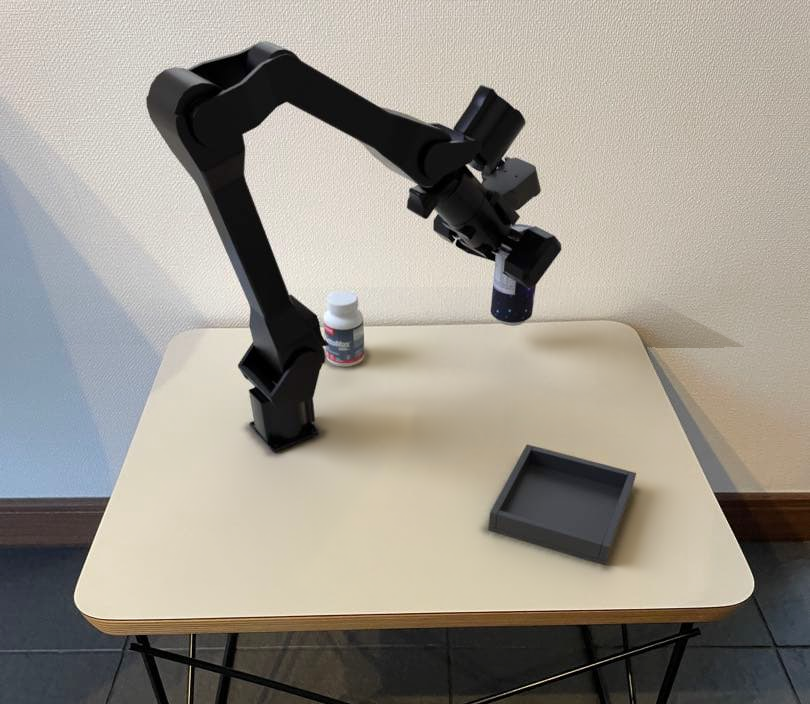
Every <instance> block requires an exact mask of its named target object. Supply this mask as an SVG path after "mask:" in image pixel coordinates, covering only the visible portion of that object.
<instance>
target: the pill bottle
mask: <svg viewBox="0 0 810 704" xmlns="http://www.w3.org/2000/svg"><path fill="white" fill-rule="evenodd" d="M358 297H359V296H358V295H357V294H356V293H355V292H353V291H350V290H336V291H333V292H331V293H330V294H329V295H328V296H327V299H326V304H327V305H326V306H327V310H326V311H325V313H324V314H323V330H324V340H325V341H326V342H327V343H328V346H325V355H326V359H327V361H328V362H329V363H330V364H332V365H334V366H338V367H352V366H355V365H358V364H360V363H361V362H362V361H363V360H364V358H365V328H364V324H365V323H364V315H363V312H362V311H361V310H360V309H359V299H358Z"/></svg>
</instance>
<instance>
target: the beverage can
mask: <svg viewBox="0 0 810 704" xmlns="http://www.w3.org/2000/svg"><path fill="white" fill-rule="evenodd" d="M510 227H511V228H513V229H515V230H517V231H519V232H521V231H522V230H524V229H527V228H531V227H533V226H532V225H529V224H523V223H515V225H512V224H511V225H510ZM508 237H509V236H508ZM513 240H514V239H513ZM515 241H516V240H515ZM518 241H519V240H518ZM500 247H502V246H500ZM509 252H510V251H509V250H508V249H506V248H504V247H502V250H501V252H500V253H499V254H498V255H496V259H495V262H494V271H493V281H492V291H491V303H490V314H491V315H492V316H493V318H494V319H495V320H496V322H497V323H500V324H501V325H504V326H509V327H511V326H513V327H514V326H520V325H522V324H524V323H525V322H526V321H528V320H529V319H530V318H531V317H532V316H533V310H534V305H535V304H534V303H535V296H536V288H537V285H536V286H535V287H532V288H527V287H525V286H523V285H522V284H520V283H518V282H516V281H515V280H513V279H511V278H509V277H508V276H506V275H504V274H503V271H504V262H505V259H506V258H507V256H508V255H509V254H508V253H509Z"/></svg>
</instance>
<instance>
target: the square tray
mask: <svg viewBox="0 0 810 704" xmlns="http://www.w3.org/2000/svg"><path fill="white" fill-rule="evenodd" d="M636 477H637V472H634V471H631V470H627V469H623V468H619V467H616V466H611V465H607V464H604V463H600V462H597V461H593V460H588V459H584V458H581V457H577V456H574V455H569V454H566V453H562V452H558V451H554V450H550V449H547V448H542V447H539V446H536V445H531V444H526V445H525V446H524V449H523V451H522V452H521V454H520V456H519V458H518V460H517V462H516V463H515V465H514V467H513V469H512V471H511V473H510V475H509V476H508V479H507V480H506V482H505V484H504V486H503V488H502V490H501V491H500V493H499V494H498V497H497V499H496V500H495V502H494V504H493V507H492V508H491V509H490V511H489V519H488V528H487V530H488V531H490V532H493V533H495V534H496V533H497V534H500V535H504V536H506V537H510V538H514V539H517V540H519V541H522V542H523V541H524V542H526V543H529V544H534V545H536V546H540V547H543V548H546V549H549V550H550V549H551V550H553V551H557V552H559V553H563V554H566V555H569V556H573V557H577V558H579V559H583V560H586V561H589V562H593V563H597V564H600V565H603V566H605V565H607V561H608V558H609V555H610V552H611V550H612V547H613V545H614V542H615V538H616V536H617V533H618V530H619V527H620V526H621V525H620V524H621V522H622V519H623V516H624V514H625V511H626V507H627V505H628V502H629V499H630V496H631V493H632V491H633V487H634V483H635V480H636Z"/></svg>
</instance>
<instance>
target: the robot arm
mask: <svg viewBox="0 0 810 704" xmlns="http://www.w3.org/2000/svg"><path fill="white" fill-rule="evenodd" d="M145 99H146V100H145V101H146V108H147V112H148V115H149V118H150V120H151V122H152V124H153V125H154V127H155V128H156V129H157V131H158V133H159V134H160V136H161V137H162V139H163V141H164V142H165V143H166V145H167V147H168V148H169V150H170V151H171V153H172V154H173V155H174V157H175V158H176V159H177V161H178V162H179V163H180V165H182V167H183V169H184V170H185V171H186V172H187V174H188V175H189V176H190V177H191V179H192V180H193V181H194V183H195V184H196V186H197V188H198V190H199V192H200V195H201V197H202V200H203V201H204V204H205V206H206V208H207V211H208V214H209V215H210V218H211V220H212V221H213V222H212V223H213V224H214V227H215V229H216V231H217V234H218V236H219V238H220V240H221V244H222V245H223V247H224V250H225V252H226V255H227V256H228V258H229V259H228V260H229V261H230V264H231V266H232V268H233V270H234V274H235V275H236V278H237V280H238V282H239V284H240V286H241V289H242V292H243V293H244V296H245V298H246V301H247V302H248V305H249V322H248V323H249V324H248V325H249V331H250V335H251V340H252V341H251V342H252V343H251V344H250V345H249V347H248V348H247V350H246V351H245V353H244V355H243V356H242V358H241V359H240V361H239V362H238V364H237V368H238V369H239V371H240V373H241V374H242V376H243V377H244V378H245V379H246V380H248V382H250V383H251V384H252V385H253V386H254V387H252V388H249V389H248V395H249V401H250V406H251V412H252V418H253V421H250V422H249V425H248V426H249V428H250V429H251V431H252V432H253V433H254V434H255V435H256V436H257V437H258V438H259V439H260V440H261V441H262V443H264V444H265V446H266V447H267V448H268V449H269V450H270V451H271V452H274V453H275V452H276V453H277V452H279V451H281V450H284V449H286V448H289V447H291V446H294V445H297V444H300V443H301V442H304V441H306V440H309V439H311V438H313V437H316V436H318V435H319V434H320V429H319V428H318V427H317V426H316V425H315V424H314V423H315V422H316V413H315V405H314V396H315V392H316V388H317V383H318V380H319V376H320V371H321V370H322V368H323V365H324V364H325V363H326V359H327V356H326V349H325V348H324V347H326V346H328V343H327V342H326V341H325V337H324V336H323V335H322V331H321V324H320V320H319V318H318V315H317V314H316V313H315V312H314V311H312V310H311V309H310V308H308V306H307V305H305V304H304V303H302V302H301V301H300V300H299V299H297V298H296V297H295V296H294V295H293V294H291V293H289V291H288V288H287V285H286V282H285V280H284V276H283V275H282V273H281V269H280V267H279V265H278V264H279V263H278V262H277V259H276V256H275V253H274V251H273V249H272V246H271V243H270V241H269V238H268V236H267V233H266V230H265V228H264V225H263V222H262V220H261V216H260V214H259V212H258V209H257V206H256V203H255V202H254V198H253V196H252V193H251V191H250V188H249V186H248V183H247V180H246V176H245V170H246V169H245V168H246V167H245V166H246V150H247V149H246V143H245V139H244V134H247V133H248V132H250V131H252V130H254V129H256V128H258V127H259V126H260V125H262V124H263V122H264V121H266V119H267V118H268V117H270V115H271V114H272V113H273V112H274V111H275V110H276V109H277V108H278V107H281V106H282V105H283V104H286V103H287V104H289V105H291V106H293V107H295V108H297V109H298V110H300V111H302V112H304V113H306V114H308V115H310V116H312V117H313V118H315V119H317V120H319V121H321V122H322V123H325V124H326V125H328V126H330V127H332V128H334V129H335V130H337V131H339V132H342V134H343V133H344V134H345V135H347V136H349V137H351V138H353V139H355V140H356V141H357V142H359V143H360V144H361V145H362V146H363V147H364V148H365V149H366V150H367V151H368V152H369V154H370V155H371V156H372V157H374V158H375V159H376V160H377V161H379V162H380V163H381V164H382V165H383V166H384V167H386V168H387V169H388V170H390V171H392V172H393V173H395V174H397V175H399V176H401V177H403V178H404V179H407V180H408V181H410V182H412V183H414V184H416V185H415V186H413V187H409V189H408V194H409V195H408V198H407V202H406V209H407V210H408V211H410V212H411V213H414V214H415V215H417V216H419V217H420V218H421V219H422V218H423V219H424V220H427V219H428V218H430V216H431V214H432V213H433V211H435V212H436V213H437V214H436V216H435V217H434V218H433V224H432V228H433V231H434V232H435V233H436V234H437V235H438V237H440V238H441V239H443V240H445V241H446V242H448V243H449V244H451V245H453V244H454V246H455V247H456V248H458V249H460V250H462V251H463V252H464V253H466V254H469V255H472V256H475V257H479V258H481V259H485V260H488V261H492V262H494V263H495V259H496V255H498V254H499V253H500V252H501V250H502V247H504V248H506V249H508V250H509V251H510V252H509V253H508V254H509V255H508V256H507V258H506V259H505V262H504V271H503V274H504V275H506V276H508V277H509V278H511V279H513V280H515V281H516V282H518V283H520V284H522V285H523V286H525V287H527V288H532V287H535V286H536V287H537V284H538V283H539V281H540V280H541V279H542V277H543V276H544V275H545V273H546V272H547V271H548V269H549V268H550V266H551V265H552V264H553V262H554V261H555V260H556V259H557V257H558V256H559V254H560V253H561V252H562V243H561V242H560V240H559V239H558V238H557V237H556V235H554V234H552V233H550V232H549V231H546V230H544V229H543V228H540V227H538V226H537V225H535V226H532V227H531V228H527V229H524V230H522V231H521V232H519V231H517V230H515V229H513V228H511V227H510V225H515V224H517V222H518V221H519V219H520V218H521V216H520V214H518V212H517V211H518V210H520V209H522V207H524V206H525V205H526V204H527V203H529V202H530V201H531V200H533V198H537V196H538V195H540V194H541V191H542V188H541V184H540V179H539V175H538V171H537V167H536V166H535V164H532V163H530V162H528V161H525V160H523V159H521V158H518V157H509V156H505V155H506V153H507V152H508V150H509V149H510V148H511V146H512V145H513V143H514V142H515V141H516V139H517V138H518V136H519V135H520V133H521V132H522V130H523V129H524V127H525V126H526V124H527V123H526V119H525V117H524V115H523V113H522V112H521V111H520V110H519V109H517V108H515V107H514V106H512V105H511V103H509V102H508V101H507V100H505V99H504V98H503V97H502V96H500V95H498V93H497V92H496V91H495V89H494V88H493V87H490V86H487V85H485V84H480V85H479V86H478V88H477V89H476V91H475V92H474V94H473V96H472V99H471V101H470V102H469V104H468V105H467V107H466V109H465V110H464V111H463V113H462V115H461V116H460V117H459V119H458V120H457V121H456V124H455V125H454V127H453V128H450V127H448V126H446V125H444V124H442V123H439V122H426V121H423V120H421V119H419V118H417V117H414V116H412V115H410V114H407V113H403V112H400V111H397V110H394V109H391V108H387V107H382V106H379V105H377V104H376V103H374V102H372V101H371V100H369V99H367V98H365V97H363V96H362V95H361V94H358V93H357V92H355V91H354V90H352V89H350V88H348V87H346V86H345V85H343V84H341V82H338V81H336V80H335V79H333V78H332V77H329V76H328V75H326V74H325V73H323V72H322V71H319V70H318V69H317V68H314V67H313V66H311V65H309V64H308V63H306V62H304V61H303V60H301V58H299V57H298V55H297V54H296V53H295V52H293V51H292V50H289V49H287V48H285V47H282V46H281V45H278V44H276V43H273V42H271V41H267V40H265V41H263V40H262V41H259V42H257V43H254V44H253V45H250V46H249V47H247V48H245V49H242V50H240V51H238V52H234V53H231V54H226V55H224V56H219V57H215V58H211V59H208V60H204V61H202V62H199V63H197V64H195V65H193V66H190V67H189V68H184V67H178V66H177V67H176V66H172V67H170V68H166V69H164V70H162V71H161V72H160V73H158V74H157V75H156V76H155V77H154V79H153V81H152V82H151V84H150V86H149V90H148V94H147V96H146V98H145ZM504 156H505V157H504ZM503 158H504V159H503ZM467 165H468V166H469V167H471V168H472V169H474V170H476V171H477V172H481V173H480V176H481V181H480V180H479V179H478V178H477V176H476V175H475V174H474V173H473V172H472V171H471V169H469V167H468V166H467ZM508 236H509V237H508ZM513 239H514V240H513ZM515 240H516V241H515ZM518 240H519V241H518ZM500 246H502V247H500Z"/></svg>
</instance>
